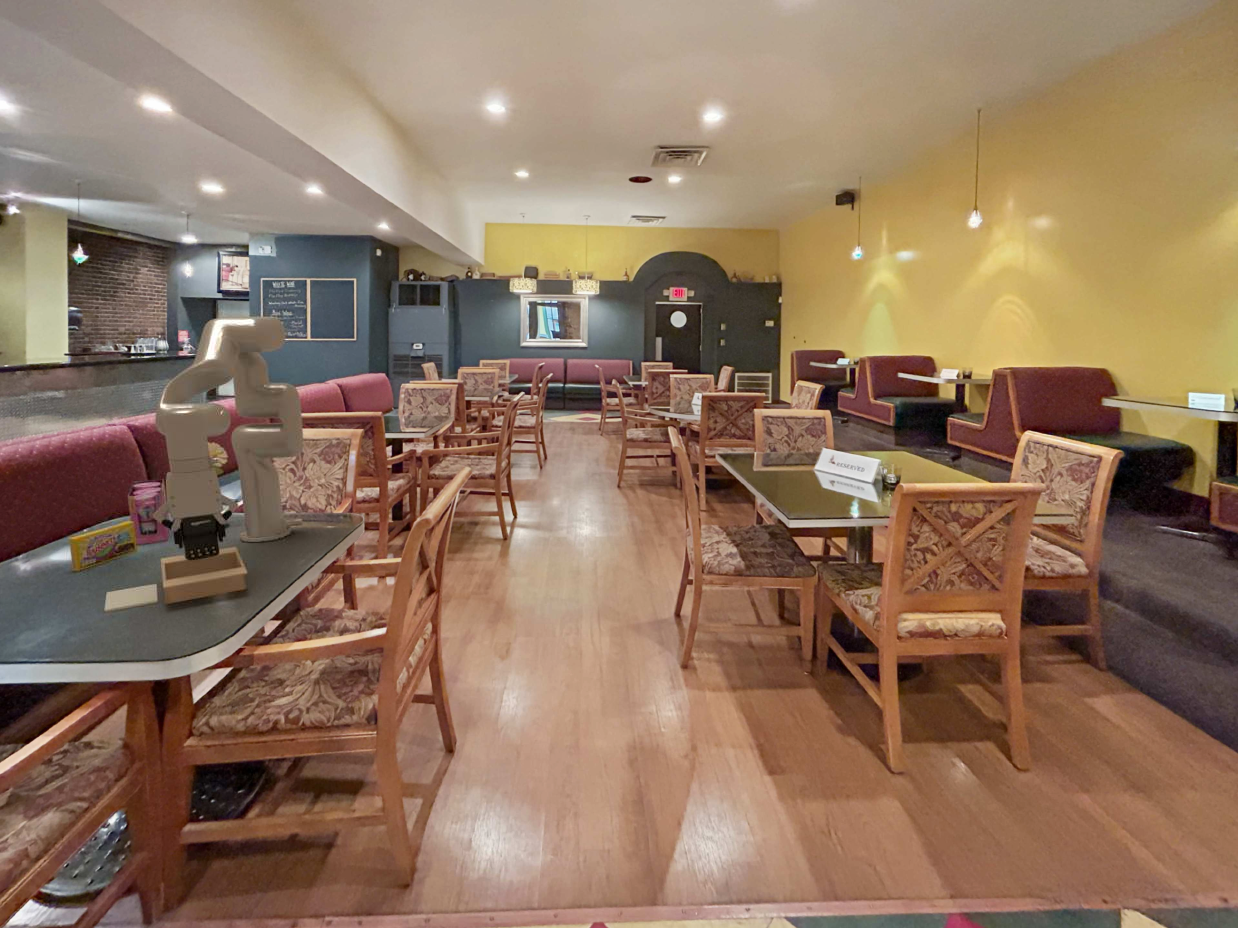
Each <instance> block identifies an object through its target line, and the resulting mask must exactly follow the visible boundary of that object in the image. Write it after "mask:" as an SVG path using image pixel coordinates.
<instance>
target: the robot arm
mask: <svg viewBox="0 0 1238 928" xmlns="http://www.w3.org/2000/svg"><path fill="white" fill-rule="evenodd" d="M200 336H201V337H200V341H199V344H198V346H197V351H196V354H195V358H194V362H193V364H191V365H190V366H189V367H187V368H185V369H184V370H183V371H181V372H180V373H179V374H178V375H176V376H175V377H174V378H173V379H171V380H170V381H169V382H168V383H167V384H166V385H165V387H163V389H162V392H161V394H160V397H159V400H158V403H157V407H156V411H155V417H154V418H155V419H154V420H155V421H154V422H155V426H156V429H157V430H158V432H159V433H160V434H161V435H163V436H165V442H166V449H167V455H168V456H167V457H168V463H169V469H170V470H169V471H168V472H167V473H166V475H165V477H166V479H165V481H166V482H165V492H166V500H167V502H166V503H165V504H163V505H162V506H161V507H160V508H159V509H158V510H157V511H156V512H155V513H153V518H154V519H156V520H157V521H158V522H160V523H161V524H162V525H164V526H165V527H167V528H169V530H171V532H172V533H173V541H174V545H178V548H179V550H180V549H184V547H183V542H182V536H181V530H180V523H181V521H182V519H183V518H186V517H195V516H206V515H213V516H214V517H215V518H216V519H217V523H218V525H217V528H218V529H217V534H218V543H219V542H220V543H223V542H224V538H225V537H226V536H227V535H226V528H225V525H226V524H227V523H226V521H227V520H228V519H229V520H230V518H231V517H232V515H233V513H234V512H235V511H236V509H238V507H239V504H238V502H236V501H234V500H233V499H231V498H229V497H228V496H225V495H223V494H222V489H221V487H220V481H219V477H218V475H217V473H216V471H215V468H213V466H212V464H215V463H218V459H217V457H215V458H213V457H211V456H209V449H208V442H209V441H208V438H209V437H219V436H220V435H223V434H225V433H226V432H227V431H228V429H229V428H230V425H231V423H232V422H231V421H232V418H231V414H230V411H229V410H228V408H226V407H225V406H224V405H222V404H219V403H215V402H199V403H198V402H191V403H190V402H188V401H189V400H190V399H192V398H194V397H195V396H198V395H200V394H202V393H205V392H208V391H210V390H213V389H216V388H219V387H221V386H224V385H225V384H227V383H229V382H230V381H231V380H233V381H232V382H233V392H234V393H233V394H234V404H235V409H236V412H237V414H238V415H239V416H240V417H242V418H245V419H280V421H281V422H272V423H269V422H263V423H262V422H261V423H260V422H257V423H245V424H240V425H239V426H237V427H235V428H234V430H233V431H232V434H231V438H230V439H231V445H232V448H233V449H232V450H233V452H234V455H235V459H236V462H237V466H238V474H239V483H240V490H241V498H242V499H241V500H242V508H243V516H244V524H245V525H244V527H245V531H243V532H241V533H240V535H239V537H240V538H239V539H240V540H241V541H243V542H248V543H260V542H262V541H263V542H270V541H274V540H275V541H276V540H279V538H280V539H282V538H285V536H286V537H287V535H288V536H289V535H290V534H291V527H297V526H303V520H302V518H290V519H286V518H285V516H284V514H283V513H284V512H283V504H282V494H281V484H280V483H281V482H280V475H279V471H278V469H277V468H276V466H275V465H274V464H273V462H272V461H270V459H276V458H277V459H279V458H283V459H284V458H294V457H298V456H299V455H300V454H301V453H302V452H303V450H304V429H303V417H302V405H301V397H300V393H299V391H298V389H297V387H296V386H294V385H293V384H291V383H287V382H270V379H269V377H270V376H269V370H268V367H269V366H268V363H267V362H266V361H265V359H264V358H263V356H262V355H261V354H260V353H267V352H268V353H269V352H272V351H273V352H274V351H277V350H280V349H281V348H282V347H283V346H284V343H285V340H286V329H285V326H284V324H283V322H282V321H281V320H280V319H279V318H277V317H275V316H225V317H218V318H217V317H216V318H213V319H211V320H209V321H208V322H206V324H205V325H204V326H203V331H202V333H201V335H200ZM186 402H188V403H186ZM224 504H225V505H228V508H227V509H226V510H225V511H224V512H223V509H224ZM167 510H168V513H169V517H170V518H171V519H172V520H170V519H169V520H168V519H166V518H165V517H163V516H162V515H163V514H164V513H165V512H166V511H167ZM220 512H221V513H222V512H223V514H221V513H220ZM225 523H226V524H225ZM224 524H225V525H224Z"/></svg>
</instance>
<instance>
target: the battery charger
mask: <svg viewBox="0 0 1238 928" xmlns="http://www.w3.org/2000/svg"><path fill="white" fill-rule="evenodd" d="M217 525H218V523H217V519H216V518H215V517H214V516H213V515H206V516H195V517H186V518H183V519H182V521H181V523H180V525H179V528H180V530H181V536H182V543H183V555H185V559H187V560H197V559H203V558H208V557H212V556H216V555H218V554H219V553H220V552H219V549H220V545H219V539H218V533H217V529H218V528H217Z"/></svg>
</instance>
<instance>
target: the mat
mask: <svg viewBox="0 0 1238 928" xmlns="http://www.w3.org/2000/svg"><path fill="white" fill-rule="evenodd" d="M157 586H158V585H157V583H154V584H146V585H141V586H136V587H130V588H125V589H118V590H114V591H107V592H106V596H105V604H104V610H103V611H104V613H110V612H115V611H119V610H121V611H122V610H125V609H132V608H136V607H141V606H148V605H152V604H156V603H157V604H158V602H159V601H158V587H157Z"/></svg>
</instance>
